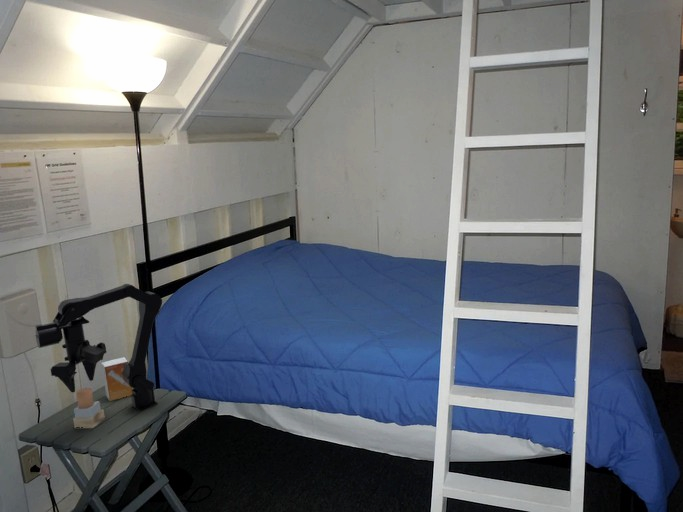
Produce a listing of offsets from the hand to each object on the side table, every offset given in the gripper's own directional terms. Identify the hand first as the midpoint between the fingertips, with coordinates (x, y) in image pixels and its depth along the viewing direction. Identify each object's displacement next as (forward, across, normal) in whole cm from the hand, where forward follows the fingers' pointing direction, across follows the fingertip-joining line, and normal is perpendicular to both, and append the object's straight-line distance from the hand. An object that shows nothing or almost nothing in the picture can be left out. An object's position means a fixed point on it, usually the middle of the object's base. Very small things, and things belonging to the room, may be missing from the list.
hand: (82, 386), depth 176 cm
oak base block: (+13, 0, 0) cm, 13 cm away
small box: (+13, +21, +2) cm, 25 cm away
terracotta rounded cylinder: (+7, 0, 0) cm, 7 cm away
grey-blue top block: (+10, 0, 0) cm, 10 cm away
